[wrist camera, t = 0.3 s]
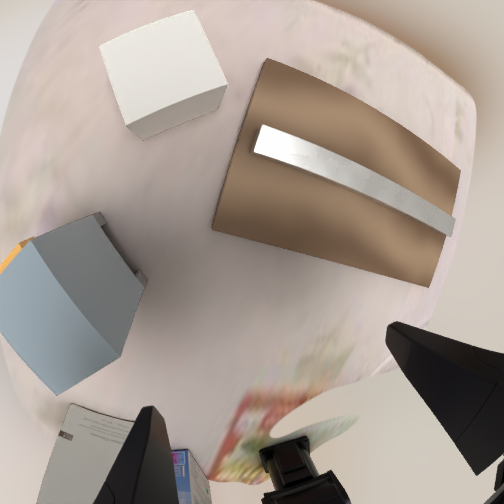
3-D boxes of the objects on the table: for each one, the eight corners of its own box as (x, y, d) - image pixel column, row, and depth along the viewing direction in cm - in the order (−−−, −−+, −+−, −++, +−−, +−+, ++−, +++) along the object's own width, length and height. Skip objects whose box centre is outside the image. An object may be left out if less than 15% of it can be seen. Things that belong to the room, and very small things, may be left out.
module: (147, 279, 21) (120, 356, 11) (99, 314, 21) (56, 395, 11) (95, 205, 19) (23, 228, 9) (50, 246, 18) (-27, 292, 8)
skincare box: (139, 421, 24) (133, 541, 10) (136, 450, 25) (133, 553, 11) (67, 400, 22) (32, 510, 8) (71, 431, 23) (48, 528, 9)
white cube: (191, 48, 17) (193, 8, 12) (217, 109, 19) (228, 83, 13) (119, 77, 17) (98, 45, 11) (142, 141, 18) (125, 125, 13)
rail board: (423, 284, 27) (437, 292, 25) (211, 227, 21) (214, 233, 19) (454, 170, 25) (470, 171, 23) (263, 62, 19) (272, 50, 16)
